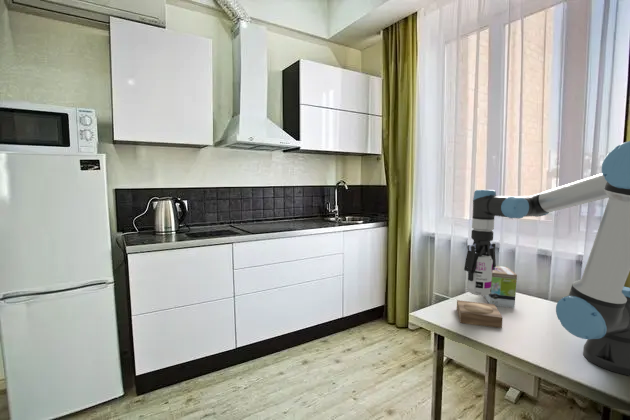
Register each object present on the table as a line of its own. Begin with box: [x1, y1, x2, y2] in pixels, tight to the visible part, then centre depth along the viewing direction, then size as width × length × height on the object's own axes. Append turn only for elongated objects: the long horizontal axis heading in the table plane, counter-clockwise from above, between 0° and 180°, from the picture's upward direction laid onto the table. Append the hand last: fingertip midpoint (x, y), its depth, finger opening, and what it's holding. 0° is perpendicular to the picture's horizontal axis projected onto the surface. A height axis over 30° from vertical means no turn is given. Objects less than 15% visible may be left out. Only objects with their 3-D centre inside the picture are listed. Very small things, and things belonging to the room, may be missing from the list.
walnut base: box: [456, 299, 504, 329], centre depth 129 cm, size 14×14×4 cm
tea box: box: [483, 265, 518, 309], centre depth 147 cm, size 15×10×15 cm
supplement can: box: [467, 255, 493, 297], centre depth 127 cm, size 8×8×15 cm
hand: (479, 287), depth 128 cm, fingers closed on supplement can, 8 cm apart
